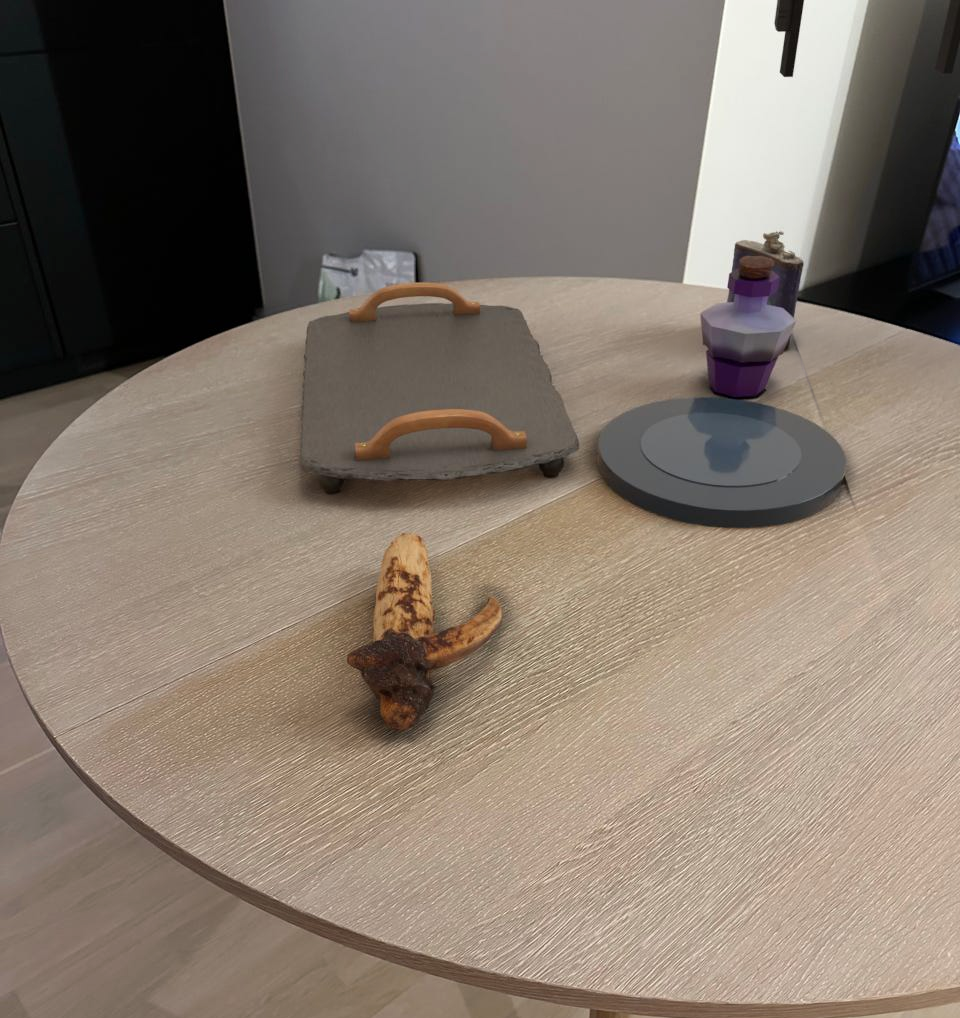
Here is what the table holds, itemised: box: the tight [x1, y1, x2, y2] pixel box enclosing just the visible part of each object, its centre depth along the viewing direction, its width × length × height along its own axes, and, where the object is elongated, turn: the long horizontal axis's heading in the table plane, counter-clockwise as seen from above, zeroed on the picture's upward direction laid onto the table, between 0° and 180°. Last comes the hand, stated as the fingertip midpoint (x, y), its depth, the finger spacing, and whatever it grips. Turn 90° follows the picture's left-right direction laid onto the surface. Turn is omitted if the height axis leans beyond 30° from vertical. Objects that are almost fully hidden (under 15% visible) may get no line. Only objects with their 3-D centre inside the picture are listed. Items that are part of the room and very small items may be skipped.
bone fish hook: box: [346, 532, 503, 730], centre depth 61 cm, size 9×5×18 cm
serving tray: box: [299, 281, 580, 496], centre depth 89 cm, size 39×23×6 cm, turn 7°
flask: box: [726, 230, 805, 352], centre depth 99 cm, size 9×3×11 cm, turn 28°
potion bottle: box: [699, 256, 797, 400], centre depth 89 cm, size 9×9×12 cm
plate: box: [596, 396, 847, 529], centre depth 80 cm, size 20×20×2 cm
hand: (864, 73), depth 86 cm, fingers open, 13 cm apart
